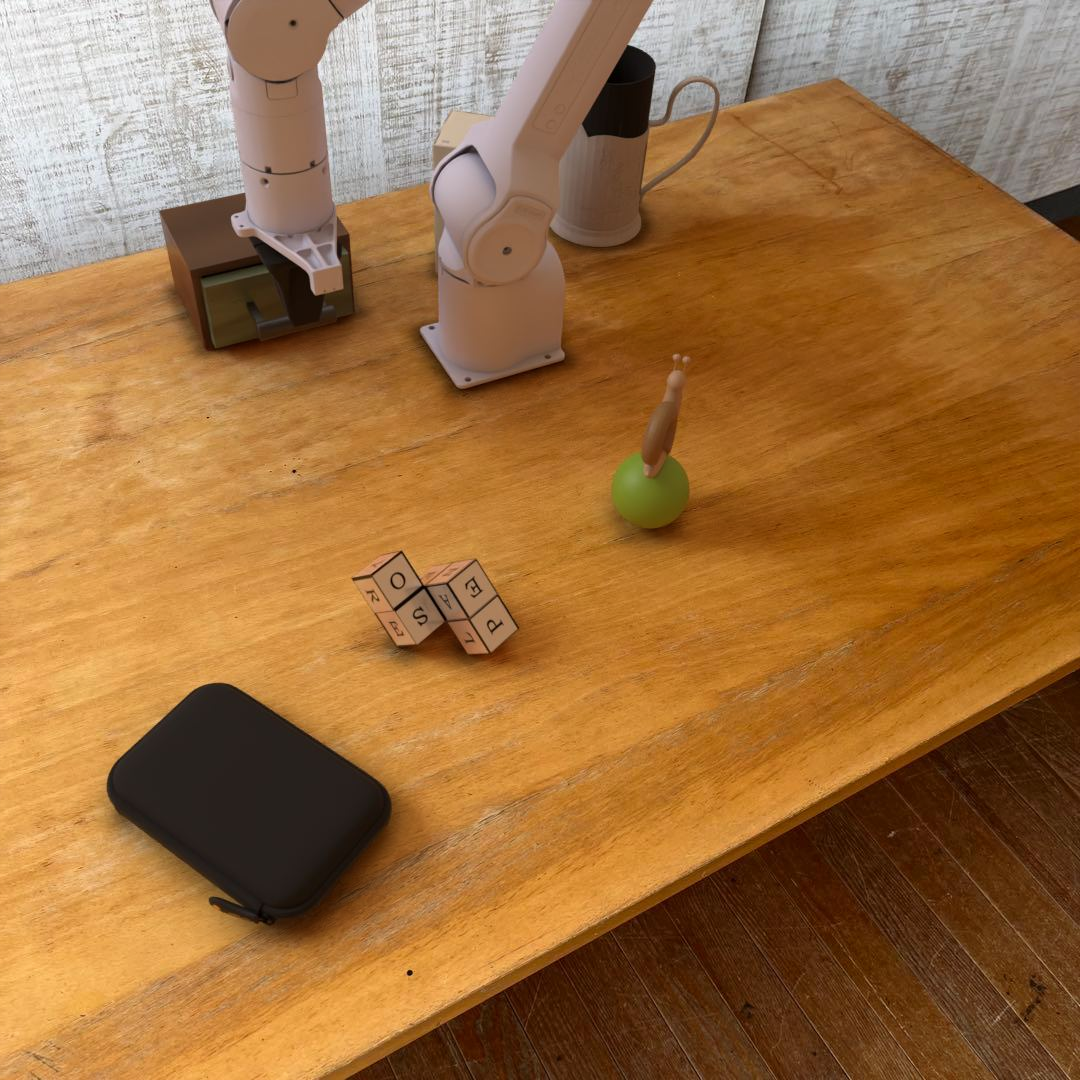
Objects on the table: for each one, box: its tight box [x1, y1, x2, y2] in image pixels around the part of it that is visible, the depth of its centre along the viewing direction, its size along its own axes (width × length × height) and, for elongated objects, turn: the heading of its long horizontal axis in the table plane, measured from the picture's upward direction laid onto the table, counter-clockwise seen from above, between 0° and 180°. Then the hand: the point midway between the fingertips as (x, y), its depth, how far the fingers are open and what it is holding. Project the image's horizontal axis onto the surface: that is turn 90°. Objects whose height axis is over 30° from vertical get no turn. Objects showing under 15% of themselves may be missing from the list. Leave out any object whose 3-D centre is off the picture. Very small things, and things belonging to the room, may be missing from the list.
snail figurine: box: [610, 353, 692, 529], centre depth 79 cm, size 5×6×12 cm
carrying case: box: [106, 682, 393, 927], centre depth 65 cm, size 11×3×15 cm
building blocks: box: [351, 550, 520, 656], centre depth 73 cm, size 5×5×8 cm
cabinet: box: [158, 192, 356, 351], centre depth 94 cm, size 9×13×8 cm
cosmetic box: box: [432, 109, 495, 274], centre depth 98 cm, size 6×4×12 cm
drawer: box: [200, 246, 354, 349], centre depth 92 cm, size 12×11×6 cm
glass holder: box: [549, 44, 721, 248], centre depth 103 cm, size 9×14×15 cm, turn 96°
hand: (303, 318), depth 87 cm, fingers closed
